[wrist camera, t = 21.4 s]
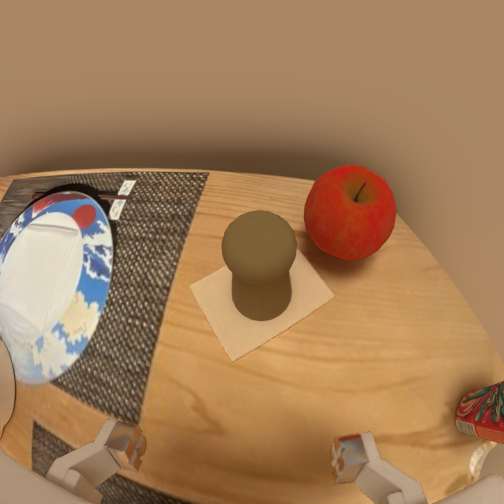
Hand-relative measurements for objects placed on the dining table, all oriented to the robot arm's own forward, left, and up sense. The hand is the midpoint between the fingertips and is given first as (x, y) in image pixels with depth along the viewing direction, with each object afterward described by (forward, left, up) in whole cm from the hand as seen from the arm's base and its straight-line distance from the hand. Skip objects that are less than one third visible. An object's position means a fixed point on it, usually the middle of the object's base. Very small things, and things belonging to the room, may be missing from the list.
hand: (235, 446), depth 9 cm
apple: (+12, +15, -15) cm, 25 cm away
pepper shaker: (+3, +12, -15) cm, 19 cm away
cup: (+23, -9, -15) cm, 29 cm away
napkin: (+3, +12, -15) cm, 19 cm away
